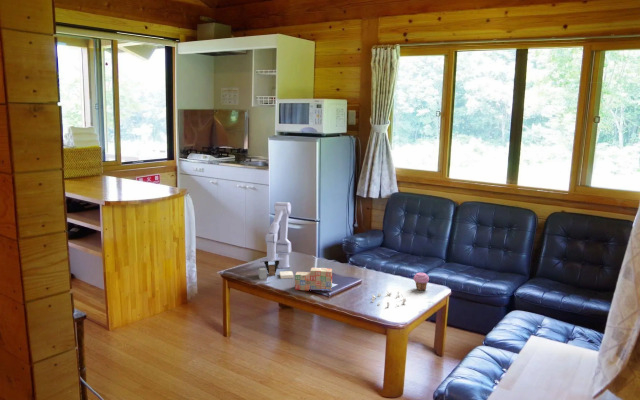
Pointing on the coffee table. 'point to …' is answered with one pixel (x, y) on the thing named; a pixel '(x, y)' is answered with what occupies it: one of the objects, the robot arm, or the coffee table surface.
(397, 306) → the game piece set
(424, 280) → the cupcake
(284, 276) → the cream slab
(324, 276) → the stack of blocks
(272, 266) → the walnut block
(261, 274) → the grey rectangular block
